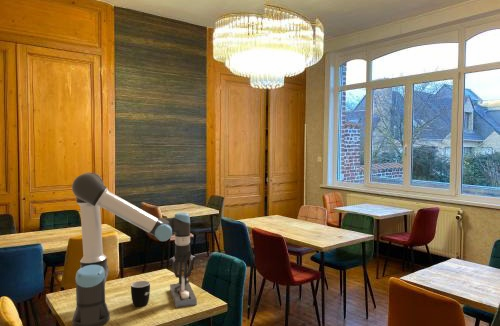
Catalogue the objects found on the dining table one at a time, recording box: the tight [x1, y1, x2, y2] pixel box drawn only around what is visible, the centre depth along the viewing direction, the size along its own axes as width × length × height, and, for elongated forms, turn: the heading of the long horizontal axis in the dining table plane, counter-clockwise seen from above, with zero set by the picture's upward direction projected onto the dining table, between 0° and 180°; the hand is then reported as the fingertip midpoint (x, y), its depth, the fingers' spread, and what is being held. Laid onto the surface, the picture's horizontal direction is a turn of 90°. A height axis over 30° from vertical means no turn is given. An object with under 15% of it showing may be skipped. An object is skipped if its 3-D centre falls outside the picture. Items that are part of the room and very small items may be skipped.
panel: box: [169, 282, 198, 308], centre depth 191 cm, size 10×24×5 cm, turn 18°
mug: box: [130, 280, 151, 308], centre depth 184 cm, size 12×9×10 cm
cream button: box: [181, 291, 189, 300], centre depth 183 cm, size 4×4×3 cm
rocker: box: [174, 277, 190, 290], centre depth 195 cm, size 8×4×1 cm, turn 108°
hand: (182, 290), depth 189 cm, fingers closed
